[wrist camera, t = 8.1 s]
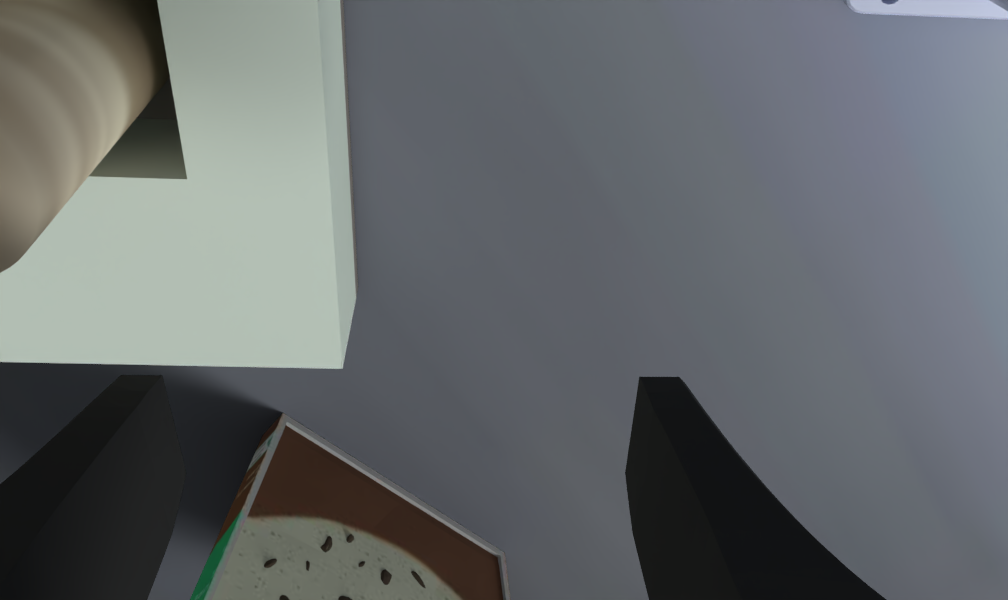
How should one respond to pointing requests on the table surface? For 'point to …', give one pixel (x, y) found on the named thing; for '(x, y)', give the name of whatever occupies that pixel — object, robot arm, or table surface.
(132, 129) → the socket block
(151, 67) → the peg
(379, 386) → the table surface
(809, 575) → the robot arm
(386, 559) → the food container
